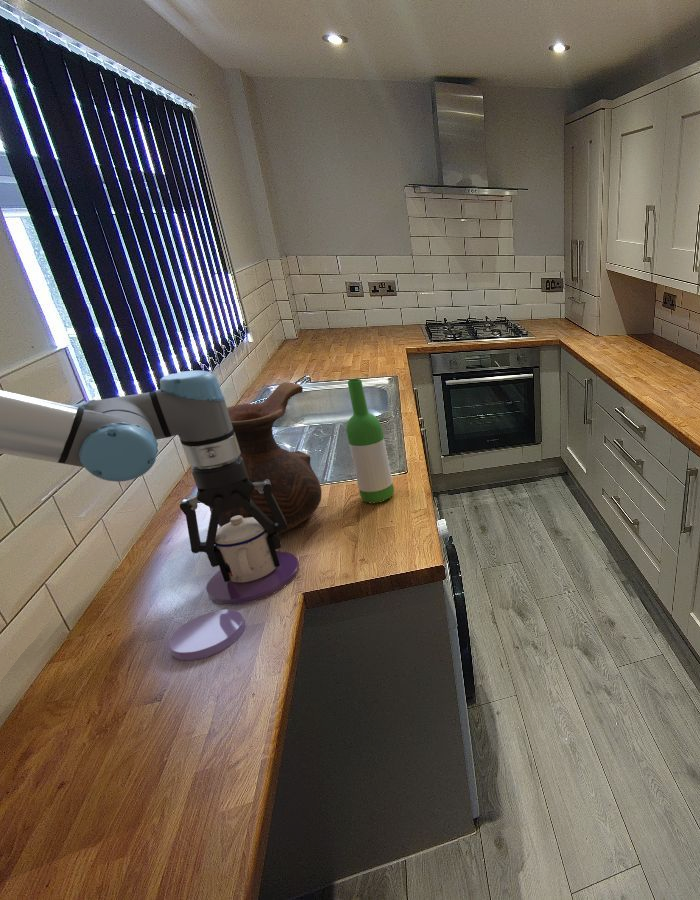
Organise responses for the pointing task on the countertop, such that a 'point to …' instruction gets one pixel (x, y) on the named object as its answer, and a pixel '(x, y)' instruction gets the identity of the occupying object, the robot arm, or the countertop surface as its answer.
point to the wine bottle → (368, 449)
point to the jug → (273, 460)
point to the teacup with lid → (244, 549)
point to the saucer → (253, 583)
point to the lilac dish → (207, 634)
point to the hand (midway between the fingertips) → (252, 570)
